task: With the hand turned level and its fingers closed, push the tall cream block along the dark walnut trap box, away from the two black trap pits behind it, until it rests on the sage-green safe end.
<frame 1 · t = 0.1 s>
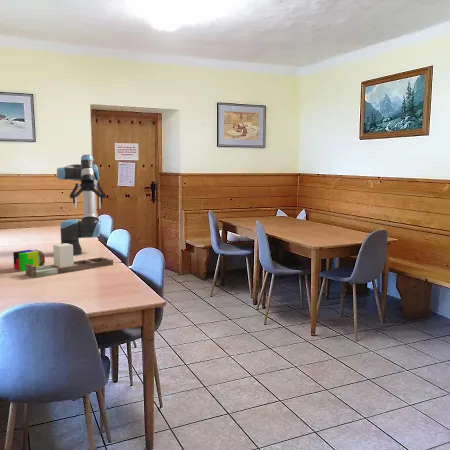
hand: (88, 207, 268), 36 cm above the table, tool tilted 35°, fingers open, 13 cm apart
trap box: (71, 269, 267), on the table
tin: (37, 264, 281), on the table
puzzle toy: (26, 269, 268), on the table
block: (63, 265, 263), point 3 cm above the table, touching trap box
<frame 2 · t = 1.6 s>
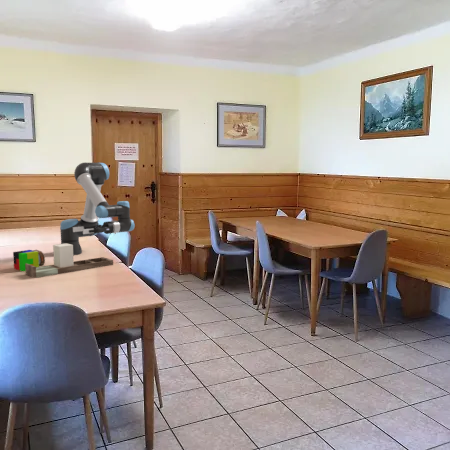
hand: (78, 230, 267), 22 cm above the table, tool horizontal, fingers open, 12 cm apart
nothing on the table moved.
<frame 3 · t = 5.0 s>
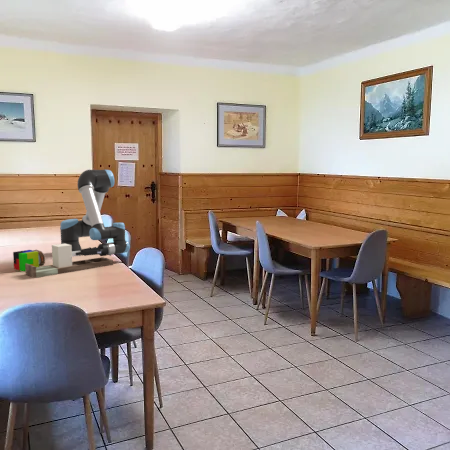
hand: (69, 254, 264), 9 cm above the table, tool horizontal, fingers closed
nothing on the table moved.
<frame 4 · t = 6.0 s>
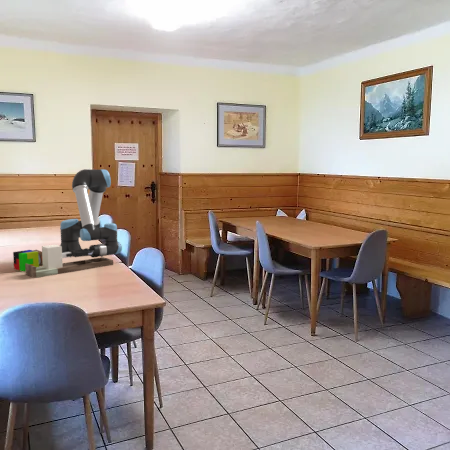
hand: (60, 255, 260), 9 cm above the table, tool horizontal, fingers closed
block: (52, 267, 258), point 3 cm above the table, touching gripper, trap box
everything else where it was.
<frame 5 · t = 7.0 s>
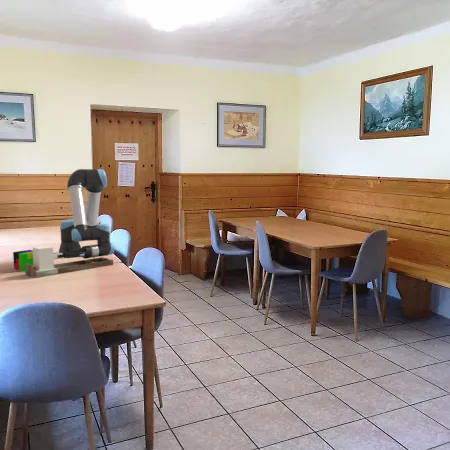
hand: (51, 257, 257), 9 cm above the table, tool horizontal, fingers closed
block: (43, 268, 255), point 3 cm above the table
everything else where it was.
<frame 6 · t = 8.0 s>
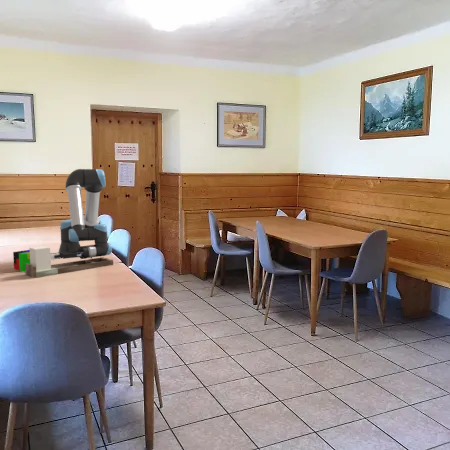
hand: (48, 257, 256), 9 cm above the table, tool horizontal, fingers closed
block: (40, 268, 254), point 3 cm above the table, touching gripper, trap box
everything else where it was.
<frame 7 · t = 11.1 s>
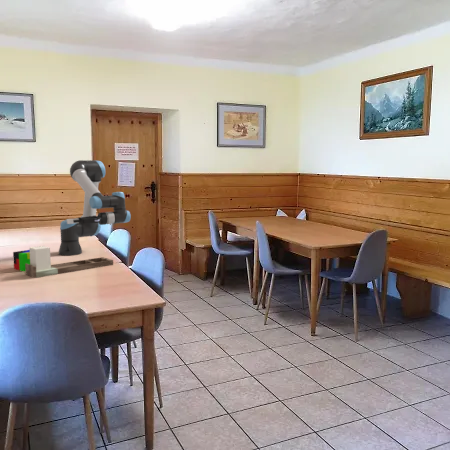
hand: (67, 221, 266), 28 cm above the table, tool horizontal, fingers closed
block: (40, 268, 254), point 3 cm above the table, touching trap box
everything else where it was.
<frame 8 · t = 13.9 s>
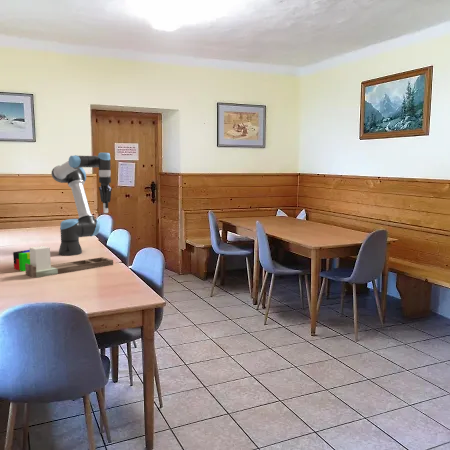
hand: (105, 212, 299), 29 cm above the table, tool pointing down, fingers closed
nothing on the table moved.
at the end: block inside the target area (2.3 cm from its centre), point 3.0 cm above the table; block tilted 0° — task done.
